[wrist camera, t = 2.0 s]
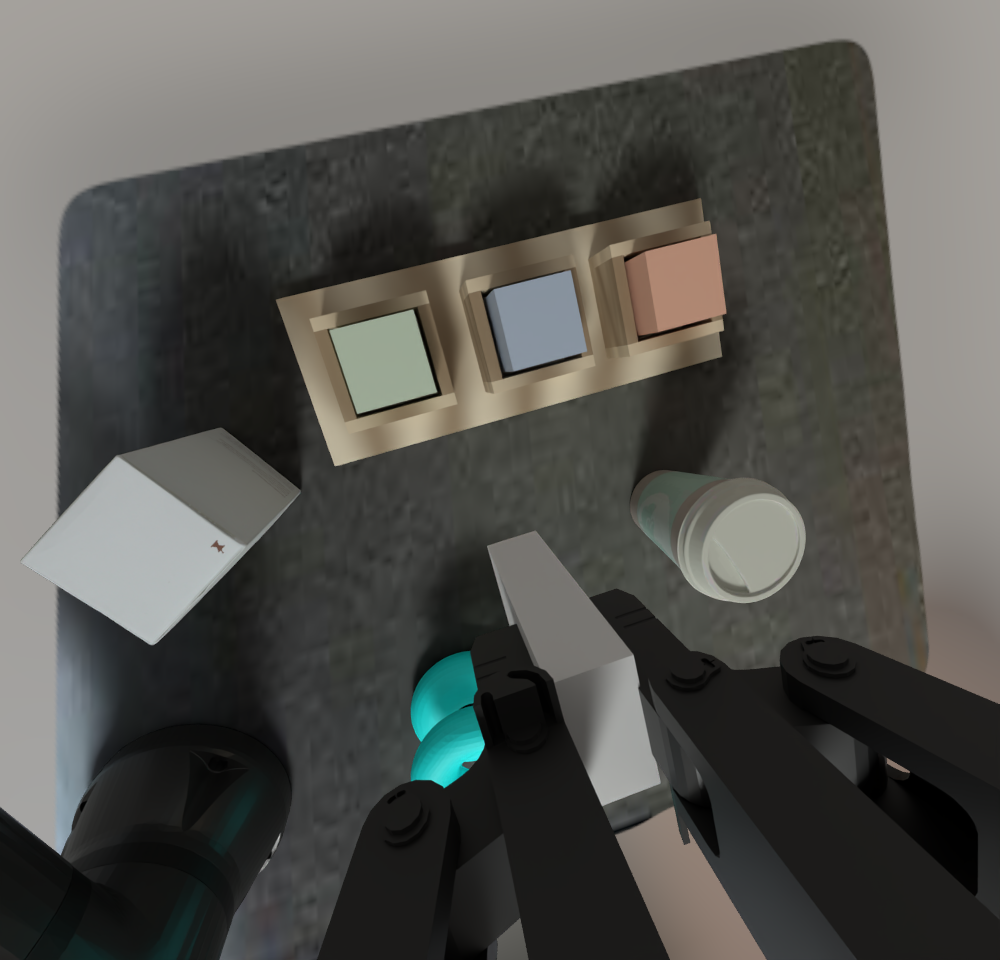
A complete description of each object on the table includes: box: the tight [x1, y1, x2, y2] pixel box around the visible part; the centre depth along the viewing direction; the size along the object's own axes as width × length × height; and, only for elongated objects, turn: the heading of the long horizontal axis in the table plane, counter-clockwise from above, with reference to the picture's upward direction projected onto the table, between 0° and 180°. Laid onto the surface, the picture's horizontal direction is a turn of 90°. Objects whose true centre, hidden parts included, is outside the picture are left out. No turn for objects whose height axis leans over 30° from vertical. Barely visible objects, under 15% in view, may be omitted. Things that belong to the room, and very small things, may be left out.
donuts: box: [411, 651, 485, 788], centre depth 38 cm, size 10×10×10 cm
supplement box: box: [21, 428, 301, 645], centre depth 29 cm, size 7×7×13 cm
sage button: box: [329, 310, 437, 414], centre depth 31 cm, size 5×5×4 cm
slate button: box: [484, 270, 587, 372], centre depth 32 cm, size 5×5×4 cm
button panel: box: [276, 198, 724, 466], centre depth 34 cm, size 32×12×5 cm, turn 104°
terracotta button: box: [624, 234, 726, 336], centre depth 33 cm, size 5×5×4 cm
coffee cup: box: [630, 470, 806, 603], centre depth 36 cm, size 8×8×12 cm
